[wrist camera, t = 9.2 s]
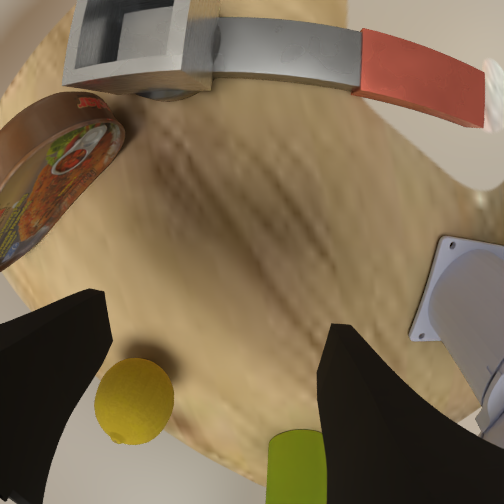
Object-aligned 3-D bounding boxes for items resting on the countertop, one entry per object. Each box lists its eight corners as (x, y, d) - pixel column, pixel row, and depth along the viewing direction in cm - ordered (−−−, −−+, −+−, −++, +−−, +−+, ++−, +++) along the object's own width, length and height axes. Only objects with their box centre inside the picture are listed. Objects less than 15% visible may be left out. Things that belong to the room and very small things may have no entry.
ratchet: (466, 60, 12) (506, 49, 8) (463, 145, 14) (505, 151, 10) (135, 17, 13) (101, -6, 9) (123, 104, 15) (84, 99, 11)
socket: (220, 2, 11) (198, -45, 7) (210, 90, 13) (180, 69, 8) (129, 12, 11) (83, -19, 7) (117, 95, 13) (61, 85, 9)
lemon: (120, 328, 21) (70, 401, 13) (188, 350, 21) (156, 436, 14) (122, 375, 23) (85, 444, 15) (181, 395, 23) (156, 471, 16)
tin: (29, 257, 19) (-41, 306, 12) (10, 227, 19) (-62, 267, 11) (151, 128, 16) (58, 128, 8) (124, 90, 15) (27, 72, 7)
